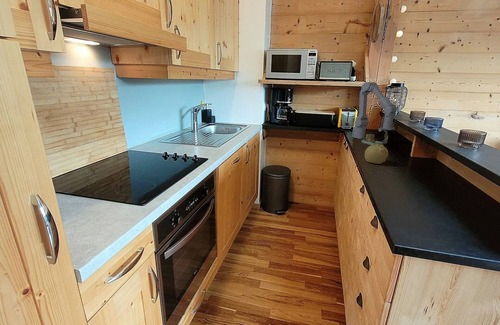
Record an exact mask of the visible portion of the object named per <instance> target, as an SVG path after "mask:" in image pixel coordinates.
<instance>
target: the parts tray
mask: <svg viewBox="0 0 500 325" xmlns="http://www.w3.org/2000/svg"><path fill="white" fill-rule="evenodd" d="M365 140H366V139H361V141H360V142H361V143H362V144H366V145H369V146H371V145H375V144H379V145H383V146H384V144H383V142H382V141H380V140H379V141H378V140H375V139H374V142H373V143H372V142H368V141H365Z"/></svg>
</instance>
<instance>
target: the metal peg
mask: <svg viewBox="0 0 500 325" xmlns="http://www.w3.org/2000/svg"><path fill="white" fill-rule="evenodd" d="M381 142H383V145H387V144H388V142H389V140H388V135H384V139H383V141H381Z"/></svg>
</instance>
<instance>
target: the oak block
mask: <svg viewBox="0 0 500 325" xmlns="http://www.w3.org/2000/svg"><path fill="white" fill-rule="evenodd" d="M365 137H366V138H365V139H364V140H365V141H368V142H372V143H373V142H374V140H375V134H373V133H368V134H367V133H365Z"/></svg>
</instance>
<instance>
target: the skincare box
mask: <svg viewBox="0 0 500 325" xmlns="http://www.w3.org/2000/svg"><path fill="white" fill-rule="evenodd" d="M384 118H385V115H384V116H382V120H381V125H380V128H383V124H384ZM392 127H394V128H395V123H394V122H392ZM384 132H386V133H385V135H387V131H384Z"/></svg>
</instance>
